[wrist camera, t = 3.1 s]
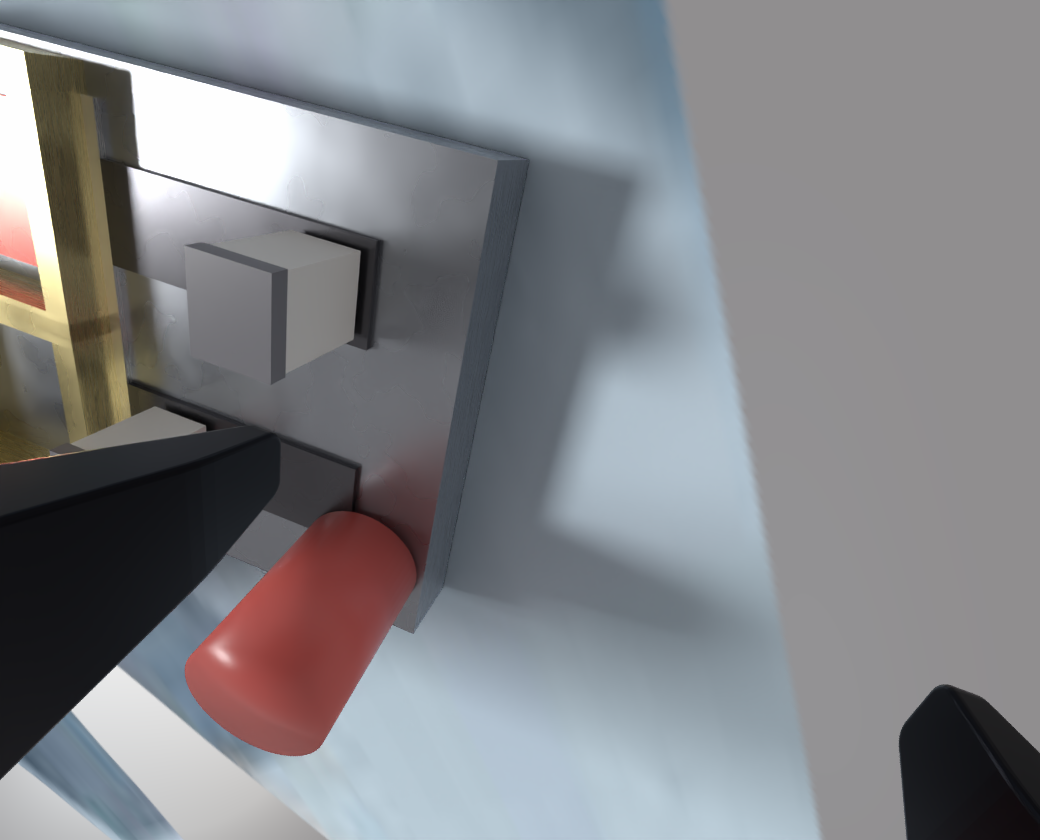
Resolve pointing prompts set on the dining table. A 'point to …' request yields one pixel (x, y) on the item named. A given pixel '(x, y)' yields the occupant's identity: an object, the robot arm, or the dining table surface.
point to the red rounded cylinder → (304, 635)
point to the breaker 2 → (270, 301)
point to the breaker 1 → (135, 431)
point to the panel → (236, 215)
